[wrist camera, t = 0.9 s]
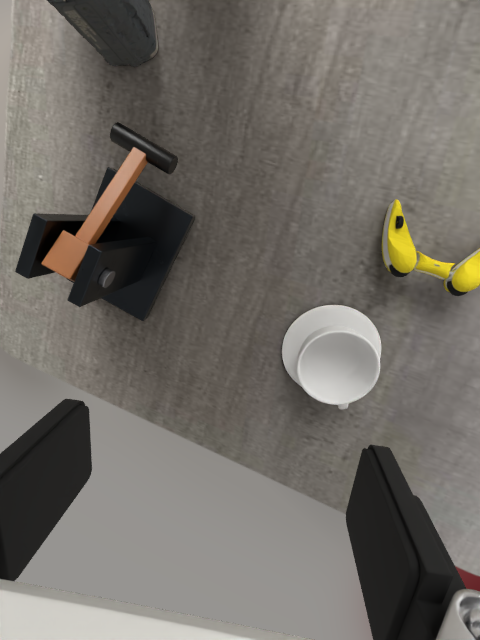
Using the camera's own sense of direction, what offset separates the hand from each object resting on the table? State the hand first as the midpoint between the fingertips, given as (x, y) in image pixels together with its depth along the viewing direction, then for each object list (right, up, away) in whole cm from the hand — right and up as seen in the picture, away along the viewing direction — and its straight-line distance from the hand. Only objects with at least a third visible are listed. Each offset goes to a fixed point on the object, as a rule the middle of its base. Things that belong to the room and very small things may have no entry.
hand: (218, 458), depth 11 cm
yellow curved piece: (+18, +11, +19) cm, 29 cm away
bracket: (-10, +12, +22) cm, 27 cm away
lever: (-9, +13, +14) cm, 22 cm away
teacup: (+10, +1, +23) cm, 25 cm away
